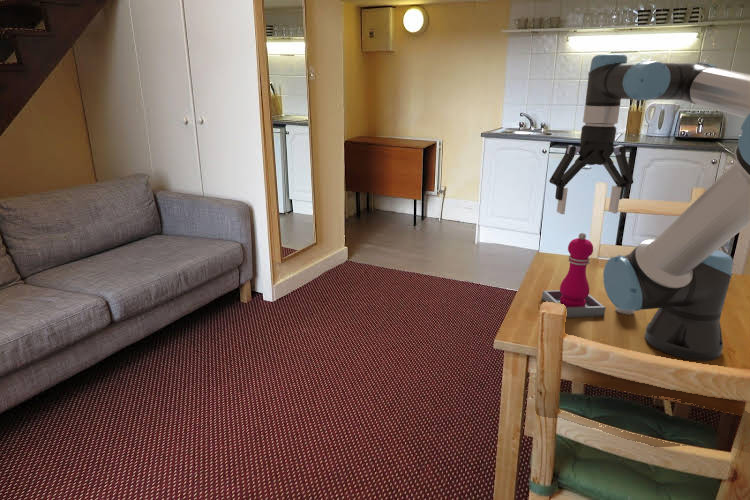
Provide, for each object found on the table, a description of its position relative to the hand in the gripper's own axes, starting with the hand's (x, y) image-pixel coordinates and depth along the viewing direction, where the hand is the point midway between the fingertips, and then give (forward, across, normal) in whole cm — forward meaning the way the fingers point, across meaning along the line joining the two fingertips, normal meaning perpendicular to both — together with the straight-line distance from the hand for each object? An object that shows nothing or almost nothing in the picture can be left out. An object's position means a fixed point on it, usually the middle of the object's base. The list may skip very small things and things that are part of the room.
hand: (586, 212), depth 124 cm
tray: (+26, 0, 0) cm, 26 cm away
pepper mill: (+26, 0, 0) cm, 26 cm away
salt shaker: (+26, -13, +2) cm, 29 cm away
